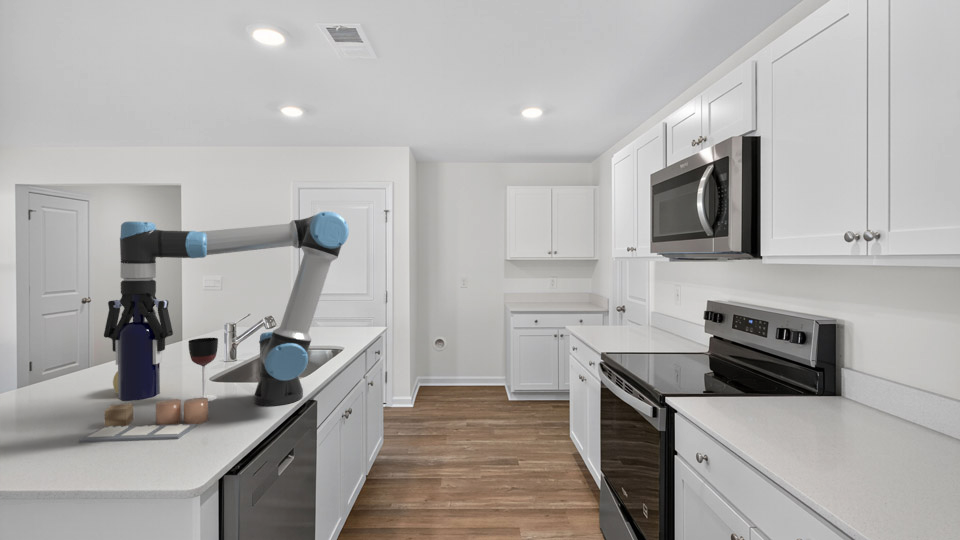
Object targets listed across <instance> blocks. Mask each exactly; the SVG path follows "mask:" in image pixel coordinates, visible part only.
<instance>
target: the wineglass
mask: <svg viewBox="0 0 960 540" xmlns="http://www.w3.org/2000/svg"><path fill="white" fill-rule="evenodd" d="M218 346H219V338H218V337H202V338H201V337H199V338H194V339H190V340H188V352H189V357H190V360H191V362H192V363H194V364H196V365H199V366H200V367H202V368H201V369H202V382H201V383H202V396H201V395H200V396H196V397H195V398H201V397H204V398H208V402H211V401H214V400H216V399H217V398H218V397H217V395H212V394H211V395H208V394H207V395H206V366H207V365H209V364H210V363H212V362H213V361H214V360H215V359H216V356H217V354H218V353H217V352H218Z"/></svg>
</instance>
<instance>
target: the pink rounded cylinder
mask: <svg viewBox="0 0 960 540" xmlns="http://www.w3.org/2000/svg"><path fill="white" fill-rule="evenodd" d="M181 422H182V400H181V399H179V398H170V399H163V400H160V401H158V402H156V403H155V425H172V424H181Z"/></svg>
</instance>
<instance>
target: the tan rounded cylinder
mask: <svg viewBox="0 0 960 540" xmlns="http://www.w3.org/2000/svg"><path fill="white" fill-rule="evenodd" d="M207 421H209V401H208V398H204V397H201V398H196V397H193V398H189V399H187V400H185V401H183V424H196V425H200V424H203V423H205V422H207Z"/></svg>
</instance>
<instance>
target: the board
mask: <svg viewBox="0 0 960 540" xmlns="http://www.w3.org/2000/svg"><path fill="white" fill-rule="evenodd" d="M196 427H197V424H184V423H178V424H172V425H156V424H144V425H127V426H105V425H104V426H103V427H100V429H97V430H96V431H94V432H93V431H92V432H91V433H89V434H88V435H87V434H86V436H84V437H81V438H80V439H78V442H79V443H87V442H88V443H90V442H91V443H93V442H94V443H96V442H117V441H118V442H123V441H126V442H127V441H149V440H151V441H152V440H179V439H180V438H182V437H183V436H184V435H186V434H188V433H189V432H190V431H191V430H193V429H194V428H196Z"/></svg>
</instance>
